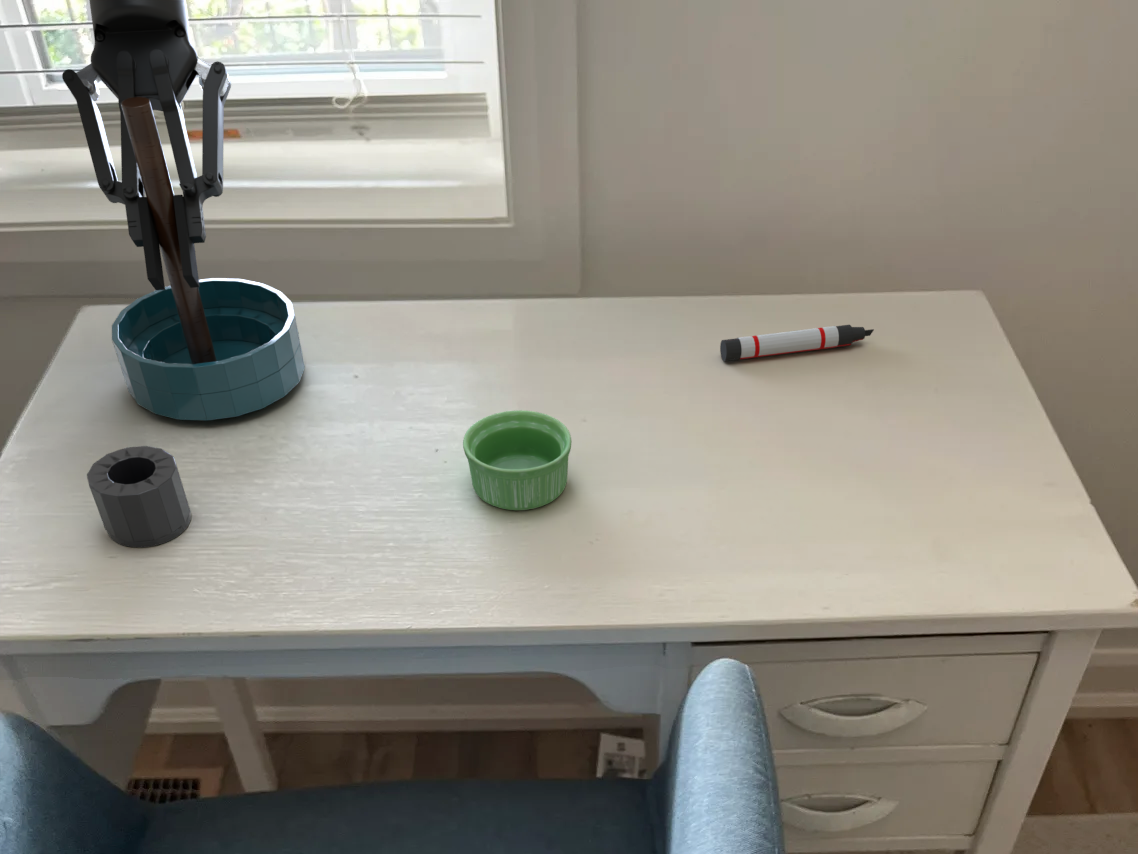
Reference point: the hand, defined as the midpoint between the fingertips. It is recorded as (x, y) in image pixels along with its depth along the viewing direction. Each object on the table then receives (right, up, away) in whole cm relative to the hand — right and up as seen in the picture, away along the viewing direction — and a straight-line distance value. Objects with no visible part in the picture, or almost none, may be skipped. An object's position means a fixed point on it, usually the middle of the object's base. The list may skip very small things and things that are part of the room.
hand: (173, 282), depth 99 cm
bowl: (0, -4, +14) cm, 14 cm away
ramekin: (+29, -16, +3) cm, 33 cm away
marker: (+55, 0, +17) cm, 58 cm away
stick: (0, -3, +10) cm, 10 cm away
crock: (-2, -20, -1) cm, 20 cm away
